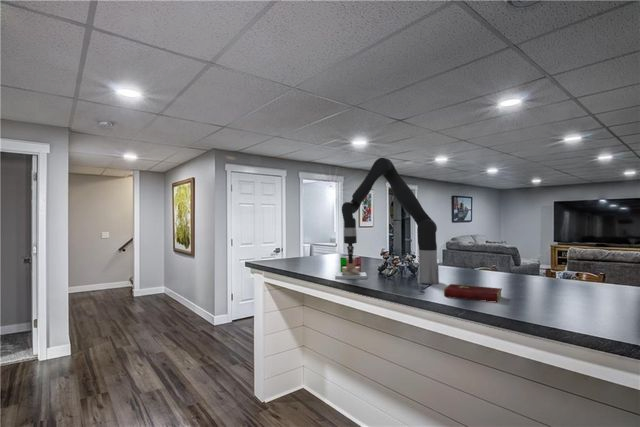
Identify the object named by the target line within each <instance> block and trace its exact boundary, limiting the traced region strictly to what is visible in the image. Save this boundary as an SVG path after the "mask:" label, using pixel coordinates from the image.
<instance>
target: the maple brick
mask: <svg viewBox="0 0 640 427" xmlns="http://www.w3.org/2000/svg"><path fill="white" fill-rule="evenodd" d="M342 275H359V267H355V268H347V267H342Z"/></svg>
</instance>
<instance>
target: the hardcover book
mask: <svg viewBox="0 0 640 427" xmlns="http://www.w3.org/2000/svg"><path fill="white" fill-rule="evenodd" d="M502 290H503V288H501V287H500V288H498V287H489V286H479V285H476V286H475V285H465V284H453V283H450V284H448V285H447V286H446V287H444V289H443V296H446V297H445V298H453V297H455V298H454V299H462V298H467V299H466V300H471V299H475V300H474V301H480V300H486V301H485V302H489V301H496V302H495V303H498V302H500V299H501V298H502ZM500 297H501V298H500Z"/></svg>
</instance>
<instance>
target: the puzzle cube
mask: <svg viewBox="0 0 640 427" xmlns="http://www.w3.org/2000/svg"><path fill="white" fill-rule="evenodd" d="M346 258H349V257H348V255H346V256H341V257H340V272H342V267H347V263H346ZM353 258H355V267H359V272H362V257H361V256H359V255H358V256H355V255H353Z"/></svg>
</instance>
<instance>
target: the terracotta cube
mask: <svg viewBox="0 0 640 427" xmlns="http://www.w3.org/2000/svg"><path fill="white" fill-rule="evenodd" d="M352 259H353V263H352V264H349V258H346V263H347V268H355V258H353V257H352Z"/></svg>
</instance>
